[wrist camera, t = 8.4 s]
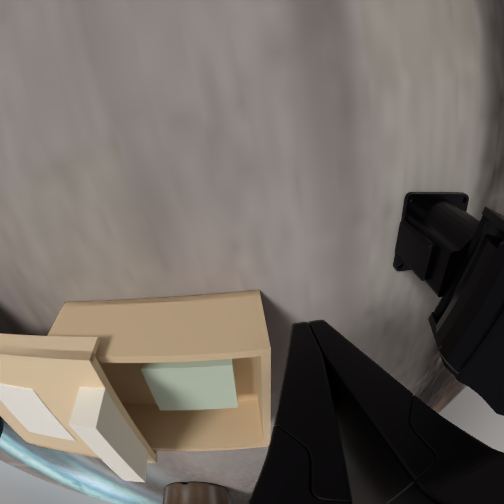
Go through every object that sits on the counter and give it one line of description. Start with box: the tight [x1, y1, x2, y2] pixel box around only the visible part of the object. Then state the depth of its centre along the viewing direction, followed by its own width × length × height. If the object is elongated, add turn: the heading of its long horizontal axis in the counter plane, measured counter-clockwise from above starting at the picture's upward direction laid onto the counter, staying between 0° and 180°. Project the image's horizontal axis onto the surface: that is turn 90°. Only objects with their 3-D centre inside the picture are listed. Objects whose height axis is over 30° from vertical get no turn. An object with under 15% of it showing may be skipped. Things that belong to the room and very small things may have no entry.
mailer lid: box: [0, 334, 157, 482], centre depth 19 cm, size 16×16×5 cm
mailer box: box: [47, 290, 271, 451], centre depth 24 cm, size 16×14×6 cm
